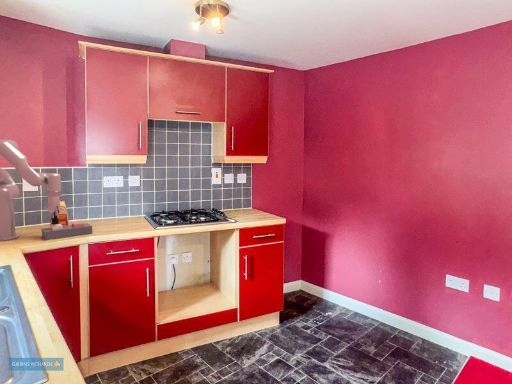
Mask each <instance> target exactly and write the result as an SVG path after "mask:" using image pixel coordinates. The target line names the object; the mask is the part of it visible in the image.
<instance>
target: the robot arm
mask: <svg viewBox="0 0 512 384" xmlns="http://www.w3.org/2000/svg"><path fill="white" fill-rule="evenodd" d="M0 155H1V156H2V157H3V158H4V159H5V160H6V161H8V163H9V164H11V165H12V166H13V167H14V169H15V171H16V173H17V174H18V175H19V176H20V177H21V178H22V179H23V180H24V181H25V182H26V183H27V184H29V185H30V186H32V187H40V186H44V185H46V198H47V212H48V213H50V214H52V217H53V218H52V224H53V225H54V224H58V213H60V201H61V200H60V198H61V197H62V180H61V179H62V178H61V177H62V176H61V174H60V173H58V172H52V173H51V172H50V173H49V172H36V170H34V169H33V168H32V167H31V166H30V165H29V163H28V157H27V156H26V155H25V154H24V153H23V152H22V151H20V150H19V145H18V143H17V142H16V141H14V140H12V139H0ZM19 195H20V188H19V186H17V184H16V181H15V180H14V179H13V178H12V175H10V173H9V172H8V171H6V170H5V169H4V168H1V167H0V242H1V241H11V240H15V239H18V238H19V237H20V234H19V233H16V221H15V220H16V219H15V218H16V217H15V206H14V202H13V199H16V198H17V197H18V196H19Z"/></svg>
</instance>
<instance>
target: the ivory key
mask: <svg viewBox="0 0 512 384" xmlns="http://www.w3.org/2000/svg"><path fill="white" fill-rule="evenodd" d="M49 228H50V229H51V230H58V229H63V226H62V225H61V224H56V225H50V224H49Z"/></svg>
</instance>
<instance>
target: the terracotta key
mask: <svg viewBox="0 0 512 384" xmlns="http://www.w3.org/2000/svg"><path fill="white" fill-rule="evenodd" d="M84 223H85V222H82V221H76V222H71V225H72V227H82V226H84Z"/></svg>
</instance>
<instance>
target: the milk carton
mask: <svg viewBox="0 0 512 384" xmlns="http://www.w3.org/2000/svg"><path fill="white" fill-rule="evenodd" d="M50 214H51V213H50ZM52 218H53V217H52V214H51V215H50V224H49V226H50V225H53V224H52ZM58 224H61V225H62V226H67V225H70V221H69V213H68V209H67V206H66V201H63V200H62V201H61V200H60V213H58ZM54 225H56V224H54Z"/></svg>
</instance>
